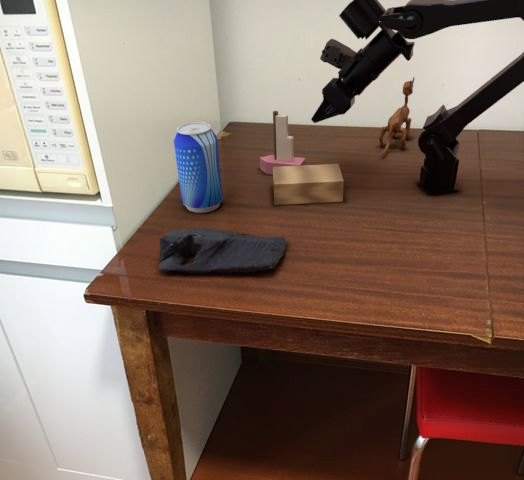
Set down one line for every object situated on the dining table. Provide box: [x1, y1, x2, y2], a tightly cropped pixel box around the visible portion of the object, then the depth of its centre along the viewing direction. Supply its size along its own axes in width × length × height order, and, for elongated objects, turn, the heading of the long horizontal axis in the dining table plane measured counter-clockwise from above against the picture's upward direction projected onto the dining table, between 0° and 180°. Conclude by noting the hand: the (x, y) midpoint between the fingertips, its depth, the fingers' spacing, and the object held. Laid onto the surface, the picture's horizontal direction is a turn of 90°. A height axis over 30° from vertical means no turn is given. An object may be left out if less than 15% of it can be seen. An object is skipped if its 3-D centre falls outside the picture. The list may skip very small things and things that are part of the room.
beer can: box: [173, 121, 224, 214], centre depth 119 cm, size 8×8×16 cm
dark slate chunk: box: [157, 227, 288, 274], centre depth 105 cm, size 15×22×5 cm
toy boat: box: [259, 110, 307, 176], centre depth 131 cm, size 10×4×13 cm, turn 70°
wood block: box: [272, 163, 345, 206], centre depth 124 cm, size 14×9×4 cm, turn 91°
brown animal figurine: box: [378, 76, 415, 156], centre depth 140 cm, size 18×7×14 cm, turn 153°
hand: (319, 113), depth 124 cm, fingers open, 9 cm apart
